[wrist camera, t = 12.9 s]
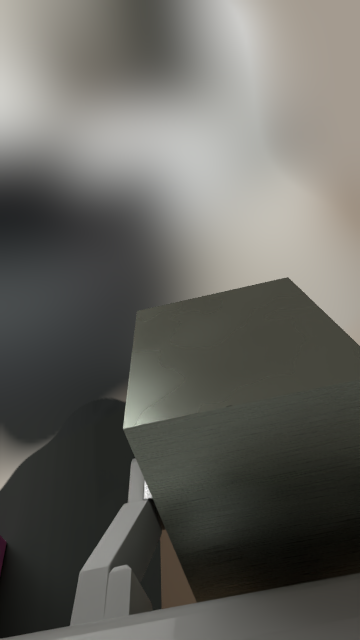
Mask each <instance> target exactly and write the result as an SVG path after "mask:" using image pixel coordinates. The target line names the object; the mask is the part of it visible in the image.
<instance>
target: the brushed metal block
mask: <svg viewBox="0 0 360 640" xmlns="http://www.w3.org/2000/svg"><path fill="white" fill-rule="evenodd" d="M123 430H124V432H125V434H126V437H127V439H128V441H129V444H130V446H131V449H132V451H133V453H134V456H135V458H136V460H137V463H138V465H139V467H140V470H141V472H142V474H143V477H144V479H145V482H146V484H147V486H148V489H149V491H150V493H151V496H152V498H153V500H154V503H155V505H156V508H157V510H158V512H159V515H160V517H161V519H162V522H163V524H164V526H165V529H166V531H167V533H168V536H169V538H170V541H171V543H172V545H173V548H174V550H175V552H176V555H177V557H178V559H179V562H180V564H181V566H182V569H183V571H184V574H185V576H186V578H187V581H188V583H189V585H190V588H191V590H192V592H193V595H194V597H195V600H196V602H197V603H198V602H203V601H208V600H214V599H219V598H225V597H230V596H236V595H241V594H246V593H252V592H257V591H263V590H268V589H274V588H279V587H285V586H290V585H295V584H301V583H306V582H312V581H317V580H323V579H328V578H334V577H339V576H345V575H350V574H355V573H360V346H359V345H358V344H357V343H356V342H355V341H354V340H353V339H352V338H351V337H350V336H349V335H348V334H347V333H345V331H343V330H342V329H341V328H340V327H339V326H338V325H337V324H336V323H335V322H334V321H333V320H332V319H331V318H330V317H329V316H328V315H327V314H326V313H325V312H324V311H323V310H322V309H320V308H319V307H318V306H317V305H316V304H315V303H314V302H313V301H312V300H311V299H310V298H309V297H308V296H307V295H306V294H305V293H304V292H303V291H302V290H301V289H300V288H298V287H297V286H296V285H295V284H294V283H293V282H292V281H291V280H290V279H289V278H283V279H278V280H274V281H270V282H265V283H260V284H256V285H252V286H247V287H243V288H239V289H234V290H229V291H225V292H221V293H216V294H212V295H207V296H202V297H198V298H193V299H189V300H185V301H180V302H176V303H171V304H167V305H162V306H158V307H153V308H149V309H144V310H140V311H137V317H136V324H135V333H134V342H133V349H132V358H131V366H130V375H129V383H128V392H127V400H126V408H125V417H124V425H123Z"/></svg>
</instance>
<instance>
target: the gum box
mask: <svg viewBox="0 0 360 640" xmlns="http://www.w3.org/2000/svg"><path fill="white" fill-rule="evenodd" d="M6 544H7V542H6V541H5V540H4V539H3V538H2V537H1V536H0V575H1V569H2V563H3V558H4V553H5V548H6Z"/></svg>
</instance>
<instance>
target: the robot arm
mask: <svg viewBox="0 0 360 640" xmlns="http://www.w3.org/2000/svg"><path fill="white" fill-rule="evenodd" d="M162 530H166V529H165V526H164V524H163V522H162V519H161V517H160V515H159V512H158V510H157V508H156V505H155V503H154V500H153V498H152V496H151V493H150V491H149V489H148V486H147V484H146V482H145V479H144V477H143V474H142V472H141V470H140V467H139V465H138V463H137V460H136V459H133V460H132V463H131V471H130V483H129V495H128V503H127V504H124V505H123V506H122V508H121V509H120V511H119V512H118V514H117V515H116V517H115V519H114V520H113V522H112V523H111V525H110V526H109V528H108V529H107V531H106V532H105V534H104V536H103V537H102V539H101V540H100V542H99V543H98V545H97V546H96V548H95V549H94V551H93V553H92V554H91V556H90V557H89V559H88V560H87V562H86V563H85V565H84V566H83V568H82V570H81V571H80V574H79V580H78V585H77V590H76V596H75V601H74V607H73V612H72V617H71V623H70V626H67V627H62V628H56V629H51V630H45V631H40V632H35V633H29V634H24V635H18V636H13V637H7V638H2V639H0V640H360V573H355V574H350V575H345V576H339V577H334V578H328V579H323V580H317V581H312V582H306V583H301V584H295V585H290V586H285V587H279V588H274V589H268V590H263V591H257V592H252V593H246V594H241V595H236V596H230V597H225V598H219V599H214V600H208V601H203V602H198V603H192V604H187V605H181V606H176V607H170V608H165V609H160V610H154V611H152V604H151V602H150V600H149V599H148V597H147V595H146V593H145V592H144V590H143V588H142V586H141V585H140V583H141V580H142V578H143V576H144V573H145V571H146V569H147V566H148V564H149V562H150V559H151V557H152V555H153V552H154V550H155V548H156V546H157V543H158V541H159V539H160V536H161V534H162Z"/></svg>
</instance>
